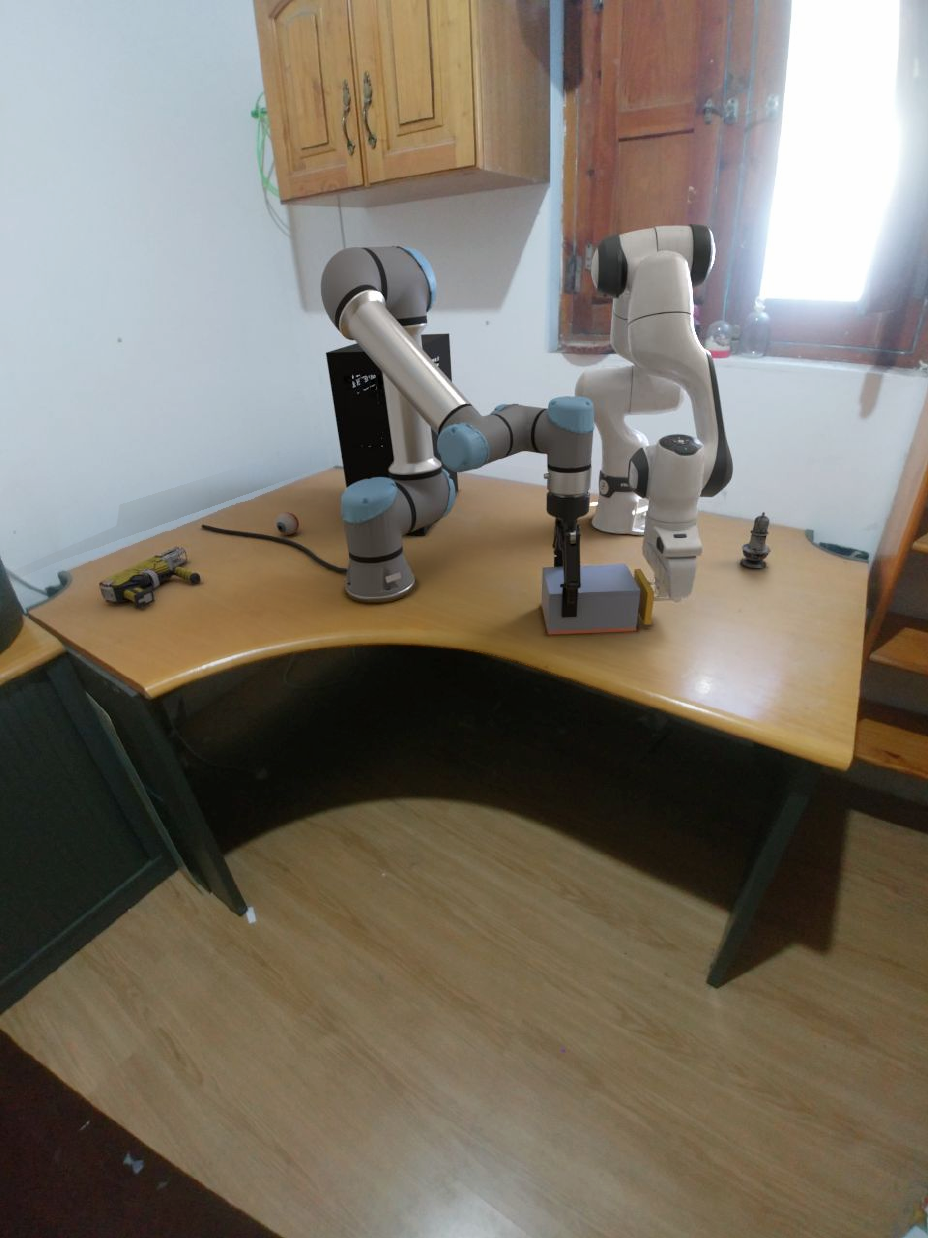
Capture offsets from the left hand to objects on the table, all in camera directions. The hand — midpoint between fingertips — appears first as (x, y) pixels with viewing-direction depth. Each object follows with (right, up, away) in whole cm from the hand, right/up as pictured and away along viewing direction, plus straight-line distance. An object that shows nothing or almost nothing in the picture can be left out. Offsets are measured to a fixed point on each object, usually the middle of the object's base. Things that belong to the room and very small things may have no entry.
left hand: (564, 600), depth 116 cm
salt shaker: (+45, +9, +19) cm, 50 cm away
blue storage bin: (+5, -3, +2) cm, 6 cm away
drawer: (+11, -2, +1) cm, 11 cm away
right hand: (+18, +1, -1) cm, 19 cm away
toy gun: (-89, +4, +25) cm, 92 cm away
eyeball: (-67, +20, +49) cm, 85 cm away
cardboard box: (-35, +29, +61) cm, 76 cm away
